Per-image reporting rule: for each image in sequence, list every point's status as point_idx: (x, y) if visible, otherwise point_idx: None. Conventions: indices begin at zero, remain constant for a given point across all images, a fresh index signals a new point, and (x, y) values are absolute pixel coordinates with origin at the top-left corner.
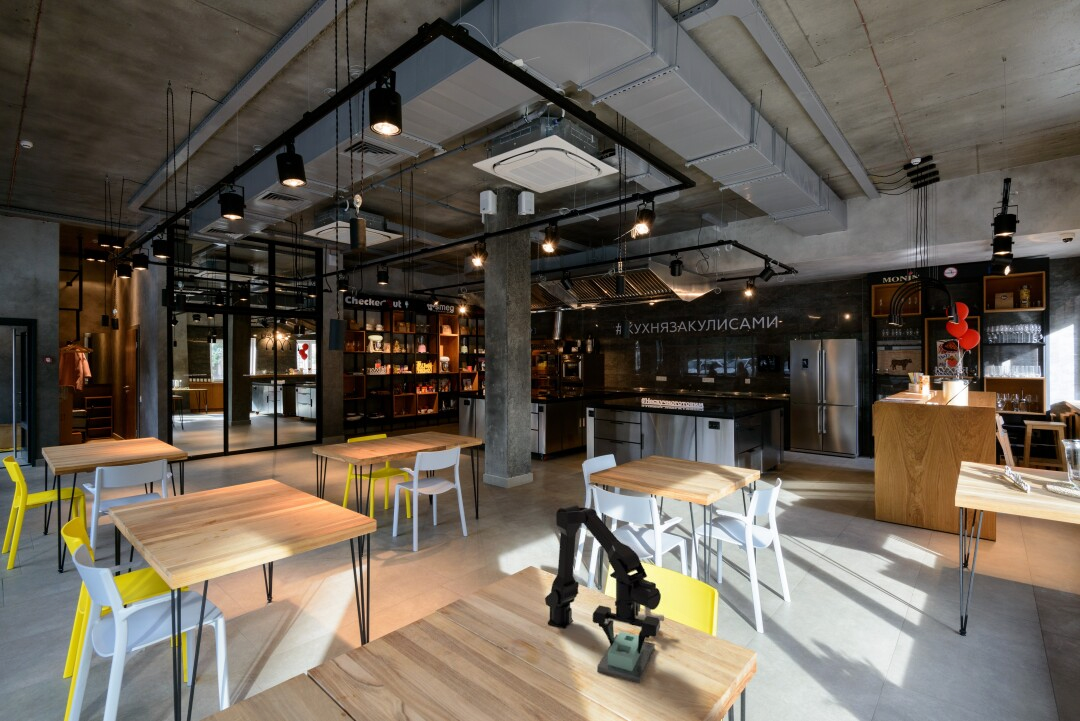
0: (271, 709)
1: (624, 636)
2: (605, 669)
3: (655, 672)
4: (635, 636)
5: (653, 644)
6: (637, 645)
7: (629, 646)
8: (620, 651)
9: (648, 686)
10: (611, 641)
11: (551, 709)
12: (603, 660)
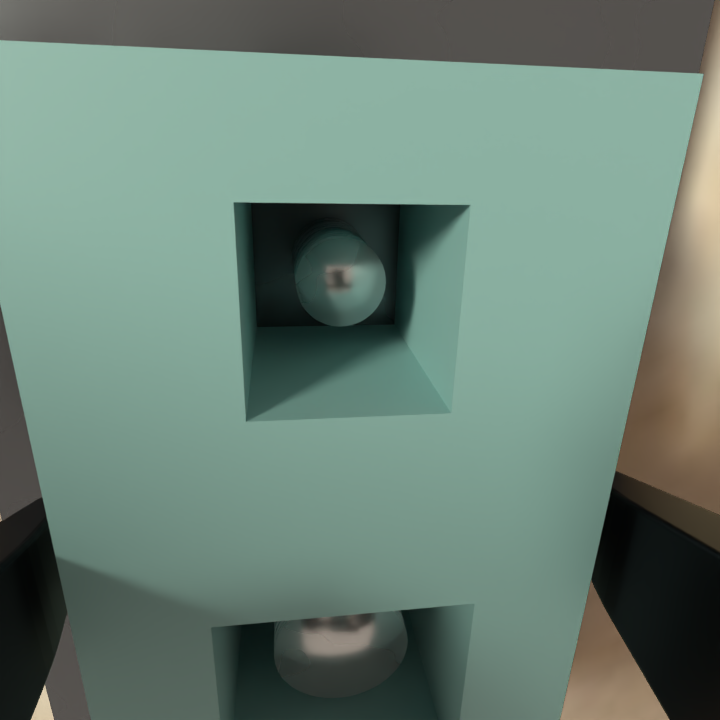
0: None
1: (201, 281)
2: None
3: (682, 439)
4: (497, 149)
5: None
6: (587, 504)
7: (434, 595)
8: (284, 653)
9: (617, 647)
10: (26, 712)
11: None
12: (73, 651)
